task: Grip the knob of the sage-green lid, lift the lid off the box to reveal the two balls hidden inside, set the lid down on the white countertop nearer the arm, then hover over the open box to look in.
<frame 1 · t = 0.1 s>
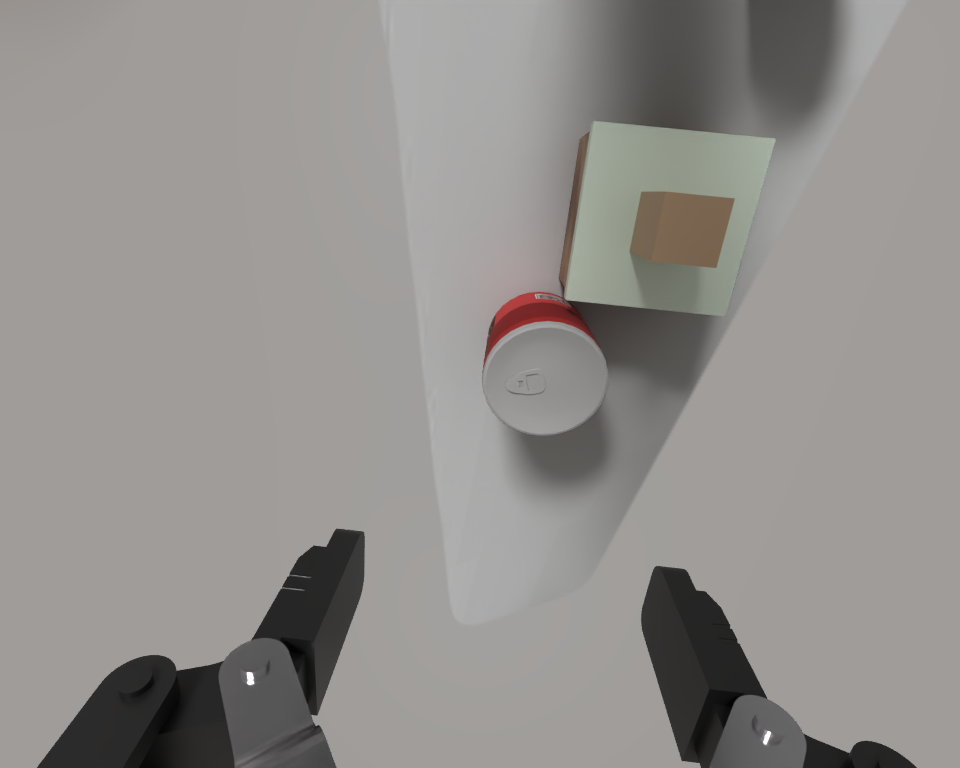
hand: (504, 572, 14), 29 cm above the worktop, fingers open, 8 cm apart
lid: (659, 223, 31), point 6 cm above the worktop, touching box
canned food: (535, 334, 41), on the worktop
box: (634, 218, 37), on the worktop
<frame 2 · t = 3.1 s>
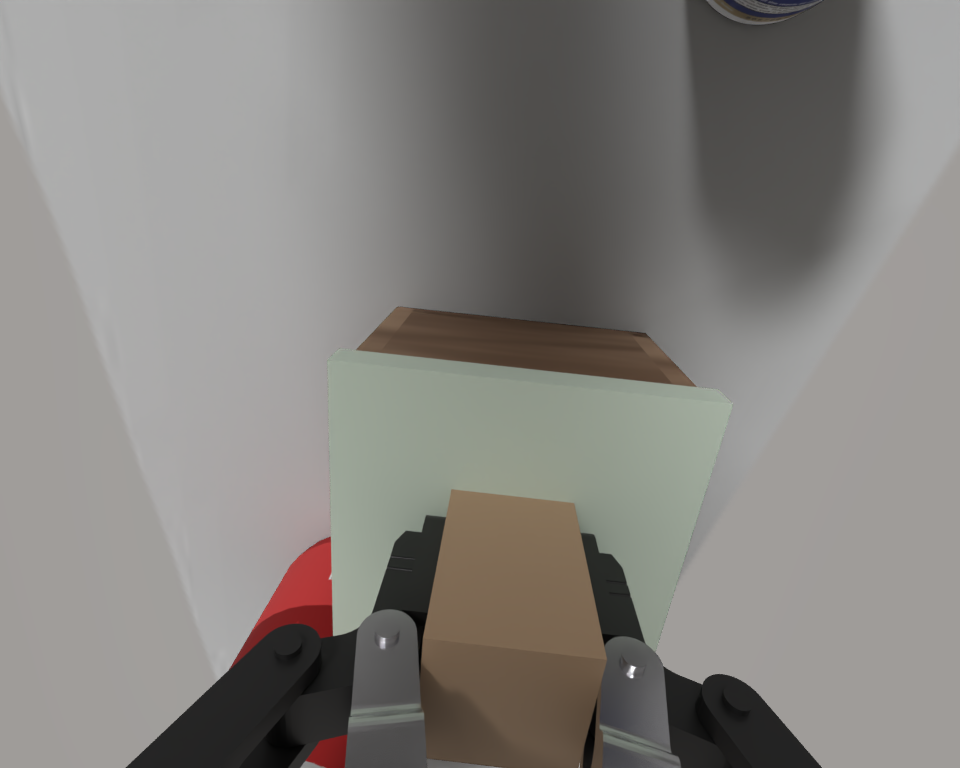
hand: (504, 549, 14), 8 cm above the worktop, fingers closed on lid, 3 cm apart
lid: (505, 524, 16), point 6 cm above the worktop, touching box, gripper
canned food: (366, 585, 26), on the worktop
box: (506, 430, 22), on the worktop
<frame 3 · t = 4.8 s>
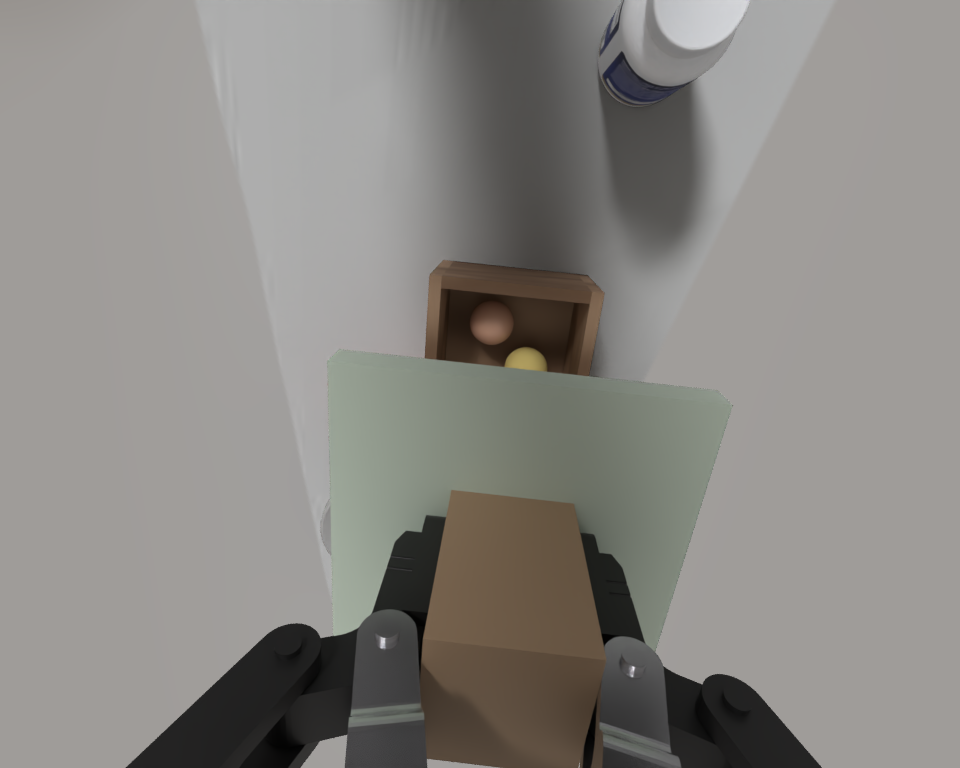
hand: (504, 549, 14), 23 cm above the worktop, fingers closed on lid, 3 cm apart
lid: (505, 524, 16), point 22 cm above the worktop, touching gripper
ball mustard: (525, 361, 36), point 1 cm above the worktop, touching box
ball terracotta: (492, 317, 35), point 1 cm above the worktop, touching box
canned food: (417, 445, 40), on the worktop
box: (506, 337, 36), on the worktop
pill bottle: (641, 57, 29), on the worktop
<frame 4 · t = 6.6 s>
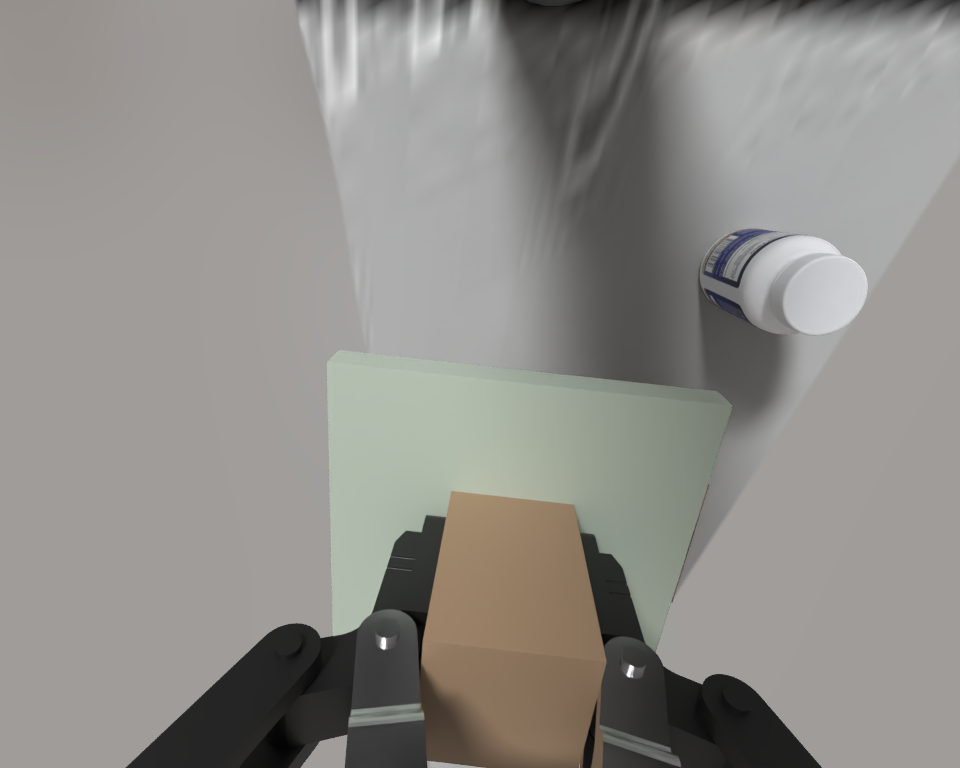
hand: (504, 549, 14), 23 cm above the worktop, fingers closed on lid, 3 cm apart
lid: (505, 525, 16), point 22 cm above the worktop, touching gripper
pill bottle: (737, 268, 33), on the worktop
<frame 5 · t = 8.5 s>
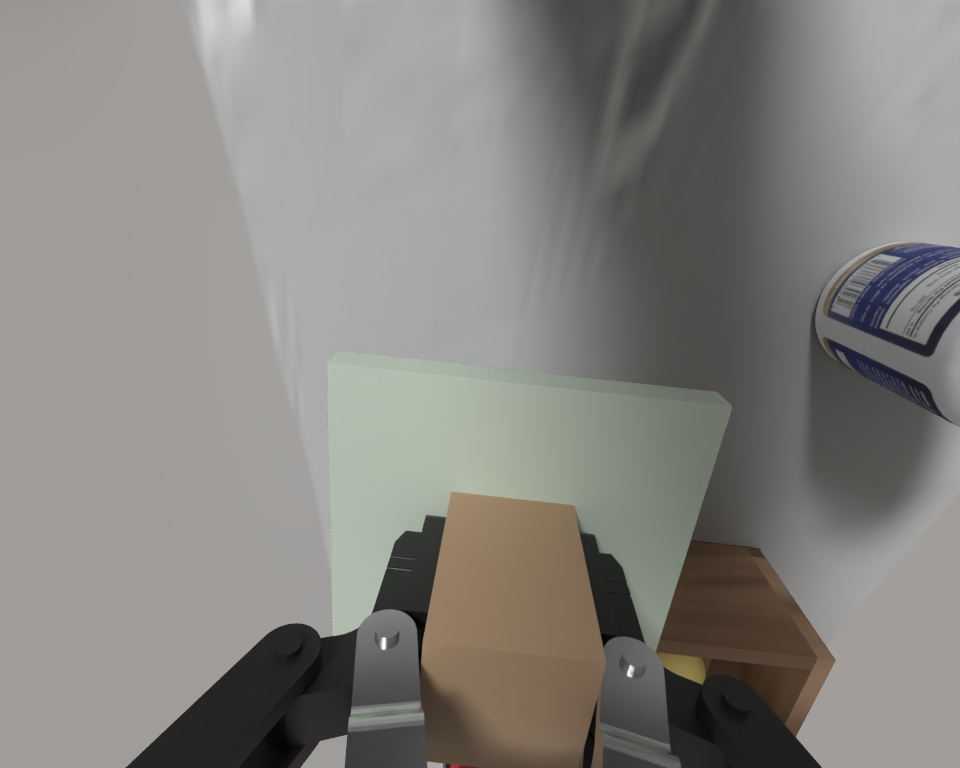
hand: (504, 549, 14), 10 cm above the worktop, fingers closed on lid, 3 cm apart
lid: (505, 526, 16), point 9 cm above the worktop, touching gripper
ball mustard: (666, 642, 27), point 1 cm above the worktop, touching box
box: (642, 608, 28), on the worktop
pill bottle: (875, 304, 21), on the worktop
when the fingers open (3 cm above the worktop, at t = 10.0 s): lid drops 2 cm, on the worktop.
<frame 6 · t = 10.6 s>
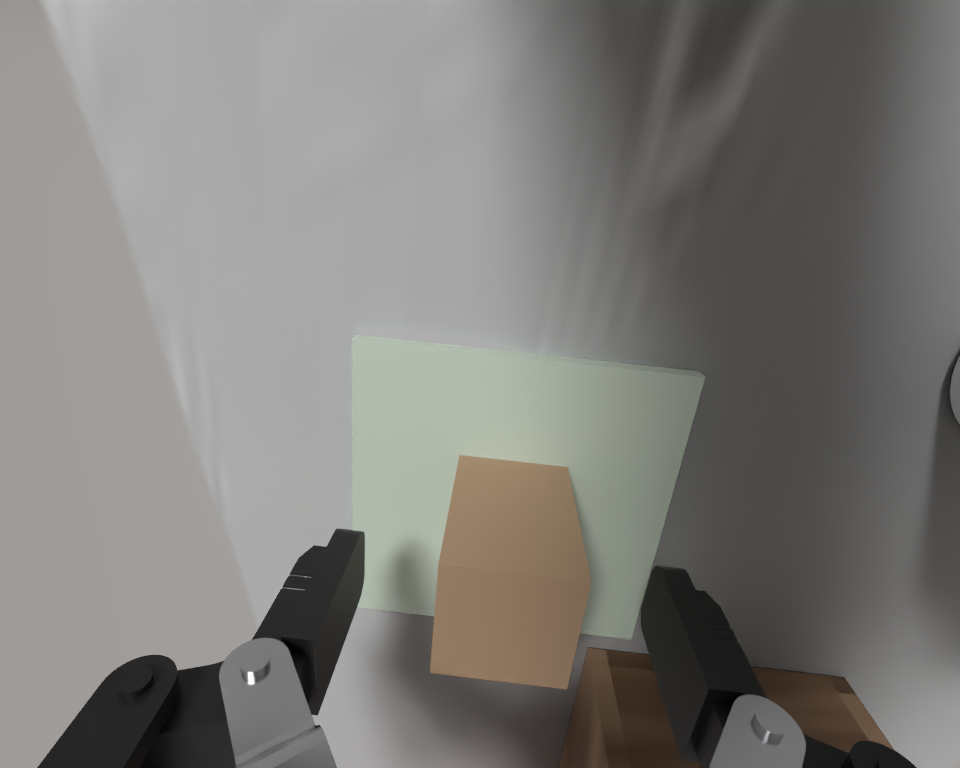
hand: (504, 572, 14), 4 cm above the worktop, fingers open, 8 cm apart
lid: (507, 489, 17), on the worktop
box: (683, 746, 21), on the worktop
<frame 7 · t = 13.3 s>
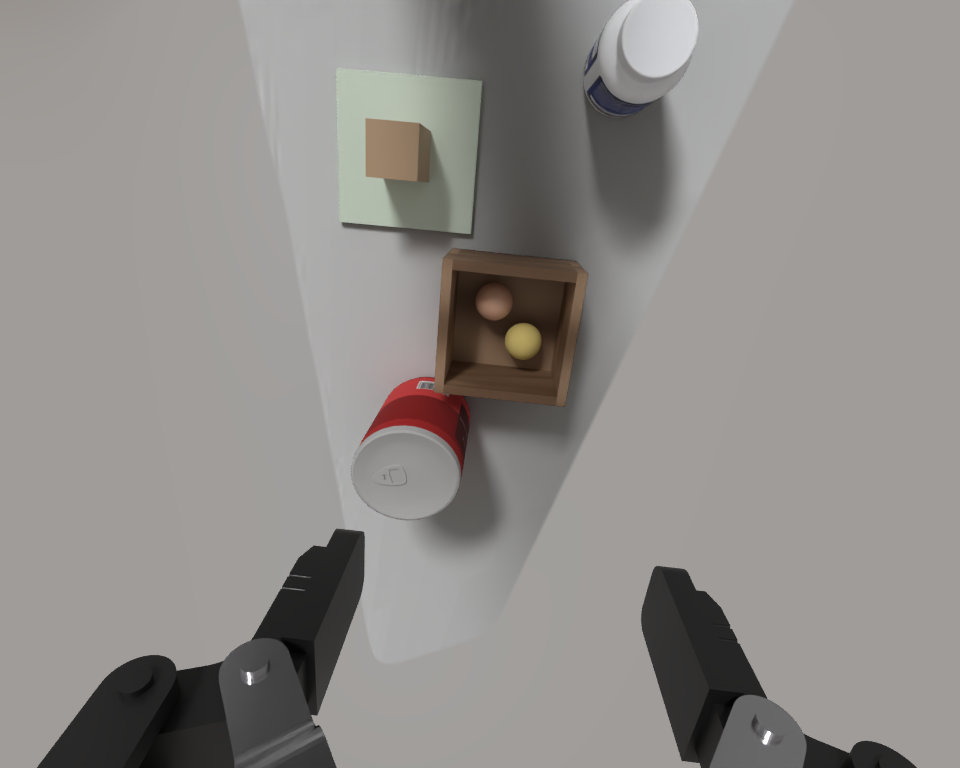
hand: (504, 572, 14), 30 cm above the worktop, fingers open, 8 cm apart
lid: (409, 155, 38), on the worktop
ball mustard: (522, 336, 41), point 1 cm above the worktop, touching box
ball terracotta: (494, 297, 40), point 1 cm above the worktop, touching box
canned food: (428, 411, 45), on the worktop
box: (507, 315, 42), on the worktop
pill bottle: (620, 76, 35), on the worktop
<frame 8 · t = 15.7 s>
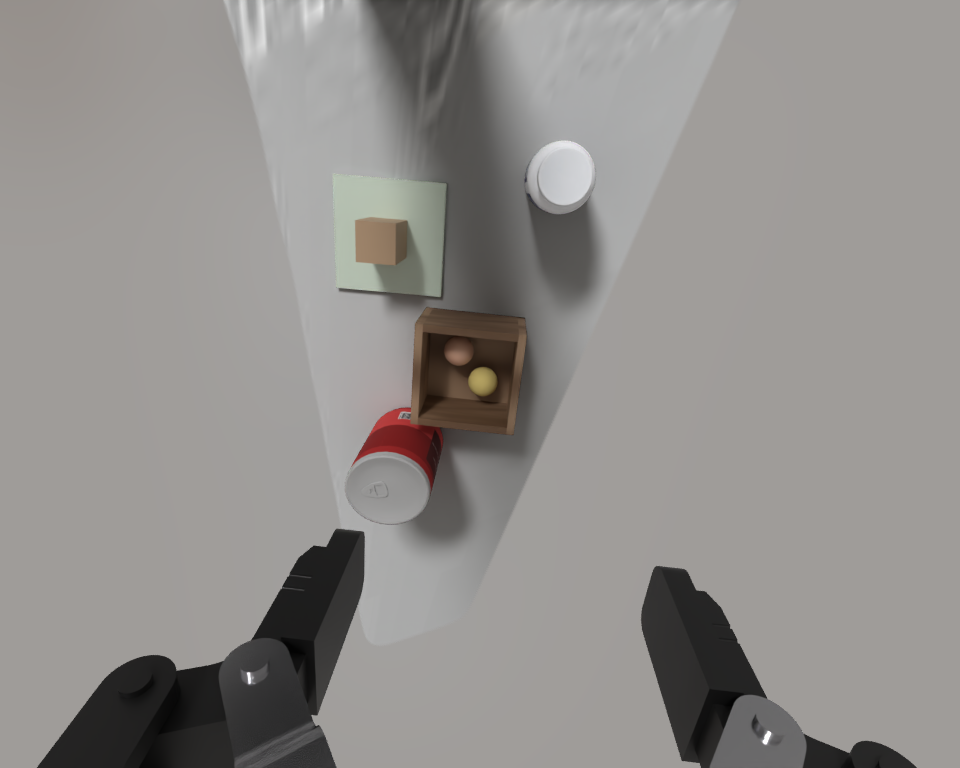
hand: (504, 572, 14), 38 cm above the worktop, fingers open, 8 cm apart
lid: (391, 236, 48), on the worktop
ball mustard: (483, 376, 51), point 1 cm above the worktop, touching box
ball terracotta: (460, 346, 50), point 1 cm above the worktop, touching box
canned food: (409, 435, 56), on the worktop
box: (471, 359, 52), on the worktop
pill bottle: (553, 180, 45), on the worktop
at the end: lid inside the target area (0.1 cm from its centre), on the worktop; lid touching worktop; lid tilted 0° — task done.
